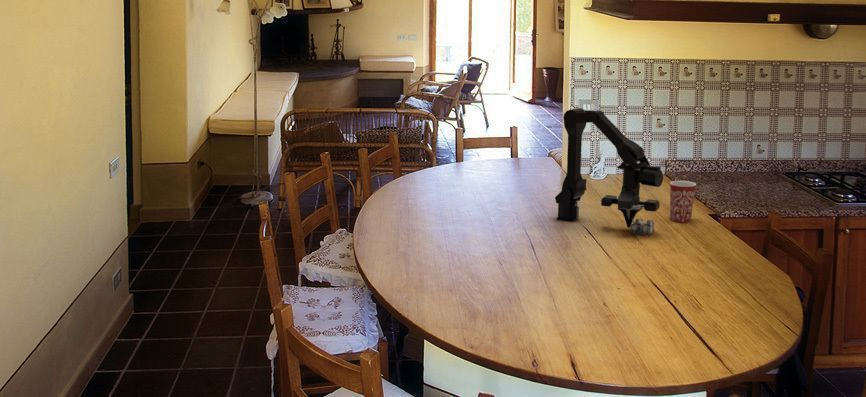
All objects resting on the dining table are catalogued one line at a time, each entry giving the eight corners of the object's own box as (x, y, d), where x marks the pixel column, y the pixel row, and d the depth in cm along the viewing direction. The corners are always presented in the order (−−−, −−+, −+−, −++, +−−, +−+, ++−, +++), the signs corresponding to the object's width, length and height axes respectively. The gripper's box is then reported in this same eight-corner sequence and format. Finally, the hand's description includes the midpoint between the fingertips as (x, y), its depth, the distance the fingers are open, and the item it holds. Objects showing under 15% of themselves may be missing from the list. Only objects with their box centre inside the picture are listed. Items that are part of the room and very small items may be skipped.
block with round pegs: (632, 232, 298) (633, 220, 297) (634, 229, 302) (635, 217, 301) (650, 234, 296) (650, 221, 295) (652, 231, 299) (653, 219, 298)
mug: (696, 223, 310) (698, 186, 306) (670, 223, 310) (672, 185, 307) (688, 214, 322) (691, 178, 319) (663, 214, 322) (665, 178, 319)
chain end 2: (640, 235, 294) (640, 225, 294) (646, 229, 302) (647, 219, 301) (647, 236, 293) (648, 226, 292) (654, 230, 301) (654, 220, 300)
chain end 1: (629, 234, 296) (630, 224, 295) (636, 227, 304) (637, 218, 303) (637, 235, 295) (637, 225, 294) (643, 228, 303) (644, 219, 302)
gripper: (597, 184, 294) (595, 229, 298) (653, 190, 286) (650, 236, 289) (606, 178, 304) (604, 222, 307) (661, 183, 295) (658, 228, 299)
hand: (628, 227), depth 300 cm, fingers closed
